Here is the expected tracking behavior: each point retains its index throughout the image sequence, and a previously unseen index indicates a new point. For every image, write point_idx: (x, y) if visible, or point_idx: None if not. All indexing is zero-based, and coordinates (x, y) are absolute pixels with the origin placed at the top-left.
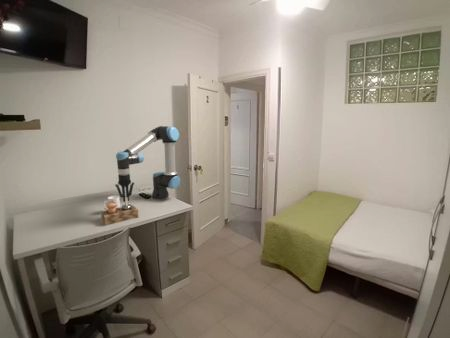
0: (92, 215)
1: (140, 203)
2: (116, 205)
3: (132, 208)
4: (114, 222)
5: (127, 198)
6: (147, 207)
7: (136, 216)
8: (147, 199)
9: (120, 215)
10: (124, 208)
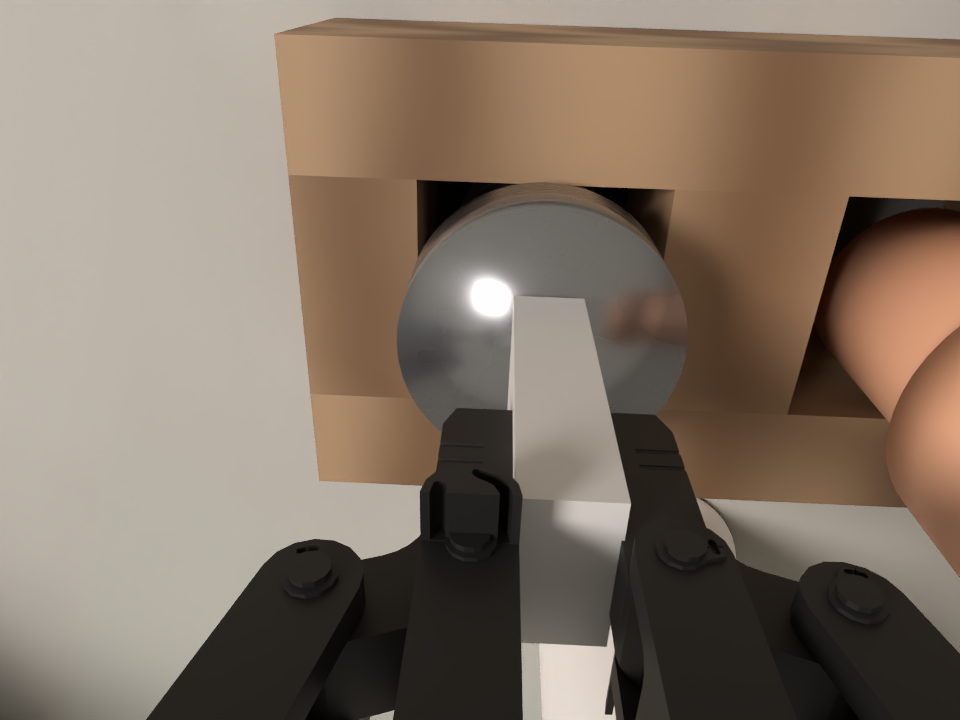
0: (957, 624)
1: (145, 638)
2: (931, 363)
3: (394, 235)
4: (917, 38)
5: (518, 453)
6: (46, 421)
7: (375, 21)
8: (7, 712)
9: (819, 49)
10: (647, 239)
